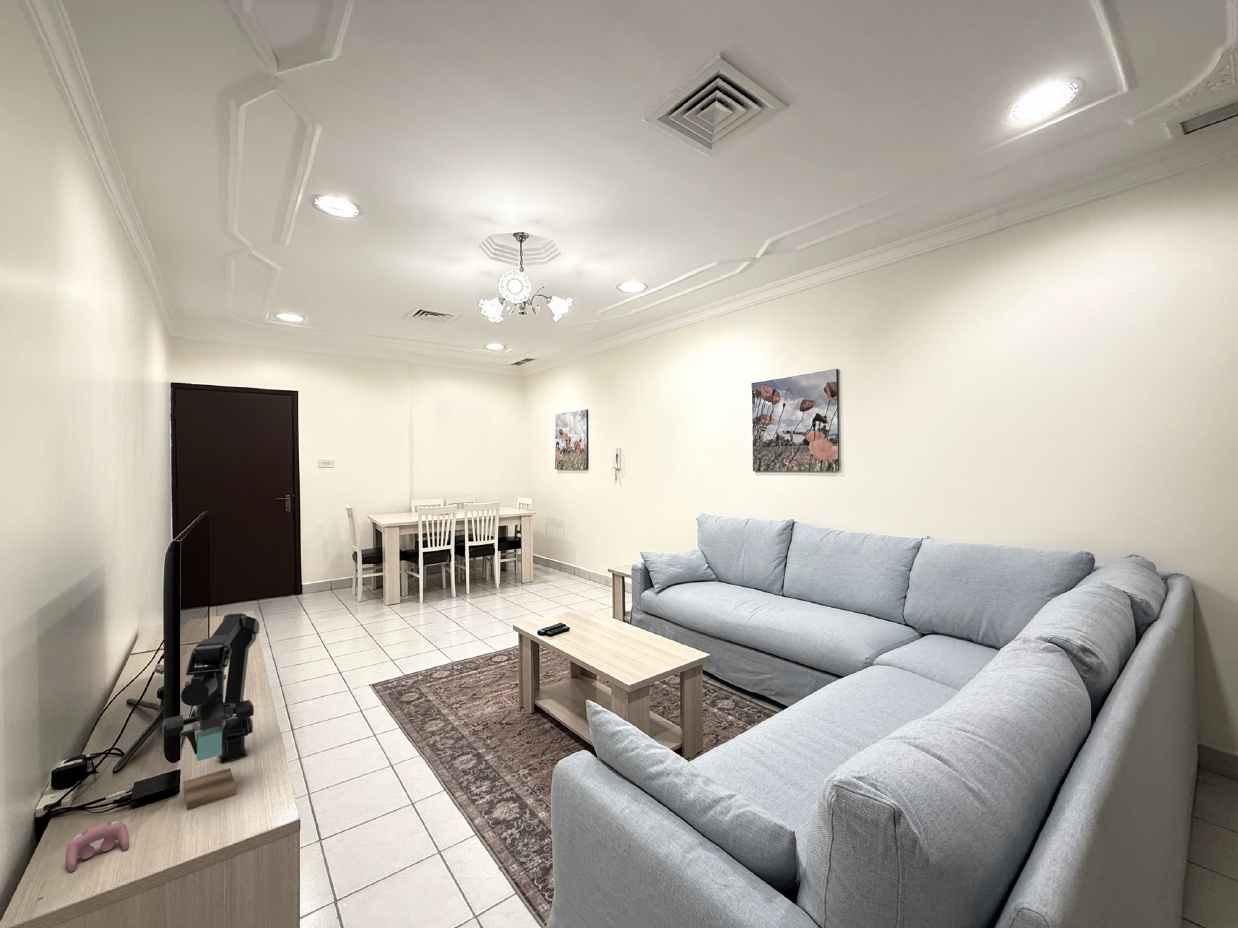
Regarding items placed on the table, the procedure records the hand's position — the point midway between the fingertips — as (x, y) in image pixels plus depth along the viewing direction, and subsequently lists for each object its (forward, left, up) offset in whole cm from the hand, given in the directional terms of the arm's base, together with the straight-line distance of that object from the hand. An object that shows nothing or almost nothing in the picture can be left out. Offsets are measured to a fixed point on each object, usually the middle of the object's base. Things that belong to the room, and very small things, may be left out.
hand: (208, 749), depth 140 cm
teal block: (0, 0, -1) cm, 1 cm away
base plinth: (0, 0, -11) cm, 11 cm away
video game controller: (+13, -20, -11) cm, 27 cm away
